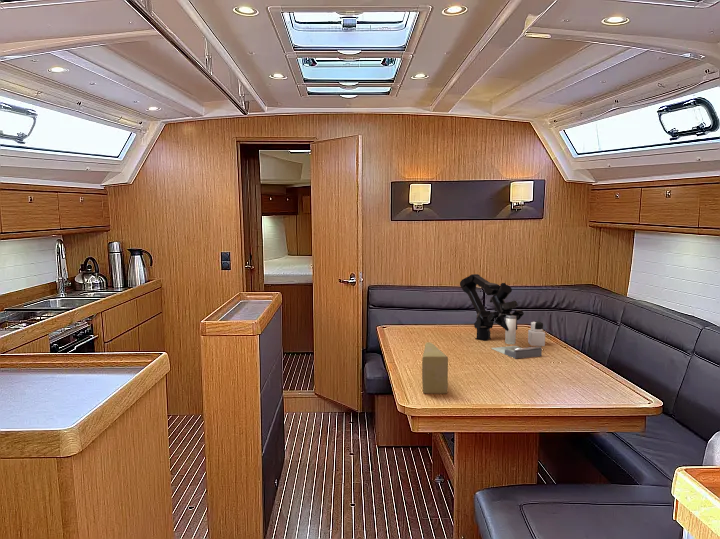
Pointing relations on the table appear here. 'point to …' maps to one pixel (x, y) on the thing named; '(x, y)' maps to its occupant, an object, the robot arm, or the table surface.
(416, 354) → the table surface
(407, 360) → the table surface
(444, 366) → the cheese
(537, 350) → the dispenser rack
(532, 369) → the table surface
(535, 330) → the medicine bottle
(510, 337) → the grey capped tube
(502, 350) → the sage mat
